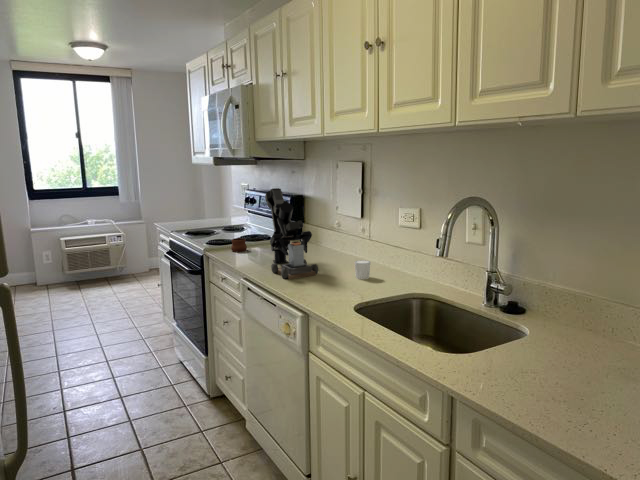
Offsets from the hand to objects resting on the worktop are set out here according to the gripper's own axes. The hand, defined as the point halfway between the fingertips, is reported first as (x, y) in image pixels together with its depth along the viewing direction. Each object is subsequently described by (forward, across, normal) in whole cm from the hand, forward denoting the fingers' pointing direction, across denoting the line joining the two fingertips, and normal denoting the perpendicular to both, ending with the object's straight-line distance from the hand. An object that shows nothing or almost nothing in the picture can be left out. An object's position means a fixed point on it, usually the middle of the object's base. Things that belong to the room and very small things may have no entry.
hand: (297, 253), depth 205 cm
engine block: (+5, 0, +7) cm, 8 cm away
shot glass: (+20, +22, -6) cm, 30 cm away
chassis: (+4, 0, +9) cm, 10 cm away
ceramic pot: (-39, -5, +54) cm, 67 cm away
